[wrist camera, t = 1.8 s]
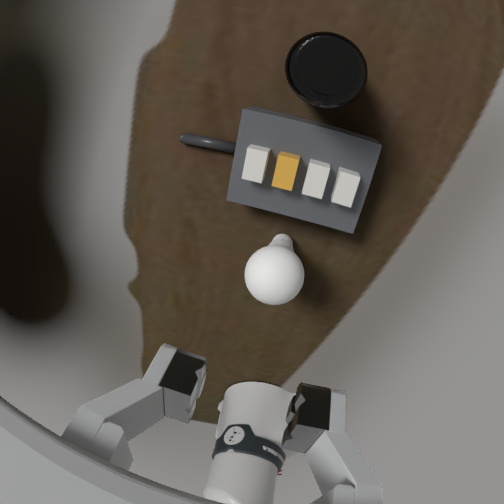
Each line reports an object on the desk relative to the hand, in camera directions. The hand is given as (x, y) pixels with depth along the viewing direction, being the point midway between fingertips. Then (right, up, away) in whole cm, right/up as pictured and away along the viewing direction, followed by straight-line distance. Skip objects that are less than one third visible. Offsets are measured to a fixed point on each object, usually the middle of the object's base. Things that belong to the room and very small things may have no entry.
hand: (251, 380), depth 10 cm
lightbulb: (+4, +6, +30) cm, 31 cm away
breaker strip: (+2, +15, +25) cm, 29 cm away
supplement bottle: (+8, +23, +20) cm, 31 cm away
